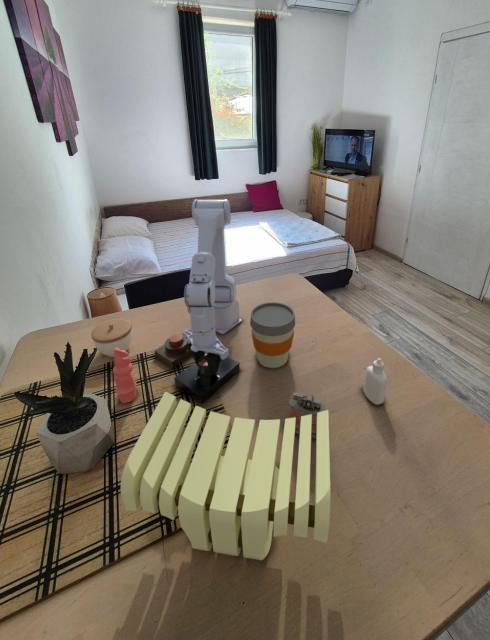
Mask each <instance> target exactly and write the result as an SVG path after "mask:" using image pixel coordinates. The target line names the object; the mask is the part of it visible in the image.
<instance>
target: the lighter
mask: <svg viewBox="0 0 490 640" xmlns="http://www.w3.org/2000/svg"><path fill="white" fill-rule="evenodd" d="M288 405H289V418H295V417H296V423H295V434H298V435H300V424H301V416H305V415H310V414H312V423H311V439H316V432H317V413H318V412H322V411H325V410H327V407H326V406H325V404H323V403H322V400H321V399H320V398H317V397H314V395H313V394H311V393H308V394H303V393H299V392H293V393H292V397H291V398H289V401H288Z"/></svg>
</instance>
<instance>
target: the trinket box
mask: <svg viewBox="0 0 490 640" xmlns="http://www.w3.org/2000/svg"><path fill="white" fill-rule="evenodd" d="M133 333H134V332H133V325H132V322H131V321H130V320H129V319H126V318H112V319H108V320H105V321H103V322H100V323H99V324H97V325H96V326H95V327H94V328H93V329H92V331H91V333H90V335H91V339H92V341H93V344H94V347H95V349H97V351H98V352H99V353H101V354H102V355H104V356H107V357H109V358H110V357H111V358H114V349H115V348H118V349H119V350H123V351H126V352H127V351H128V349H129V348H130V346H131V344H132V342H133V336H134V335H133Z"/></svg>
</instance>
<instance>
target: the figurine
mask: <svg viewBox="0 0 490 640" xmlns="http://www.w3.org/2000/svg"><path fill="white" fill-rule="evenodd" d="M128 355H130V353H129V352H128V351H127V350H126V351H123V350H119V349H118V348H115V349H114V357H113V360H114V366H113V368H112V374H113V375H114V376H113V380H114V383H115V388H114V392H115V394H117V396H118V399H119V402H120V403H124V404H128V403H130V402H132V401H134V400H135V398H136V397H137V391H136V387H137V384H138V383H137V381H136V380H135V379H134V376H133V373H132V371H133V369H134V366H133V363H132V361H131V359H130V357H128Z"/></svg>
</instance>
